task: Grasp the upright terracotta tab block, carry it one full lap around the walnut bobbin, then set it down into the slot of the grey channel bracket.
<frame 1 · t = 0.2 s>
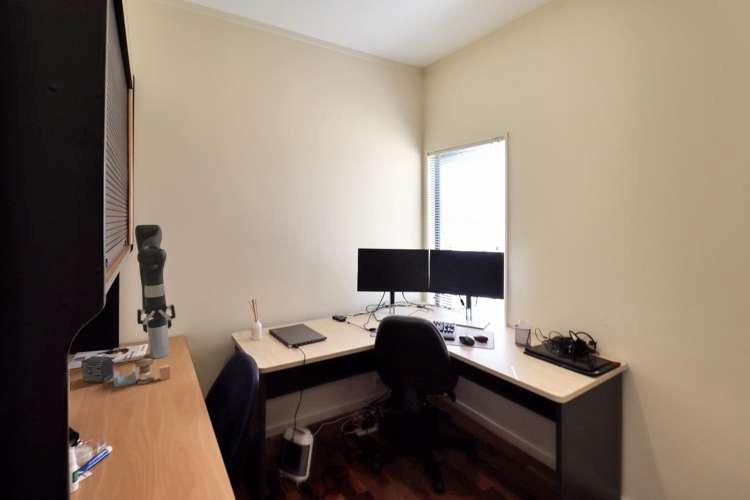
hand: (157, 330, 157), 28 cm above the table, fingers open, 8 cm apart
small box: (99, 379, 171), on the table
bobbin: (145, 380, 169), on the table
grey channel bracket: (125, 381, 169), on the table
lead tab: (165, 378, 172), on the table
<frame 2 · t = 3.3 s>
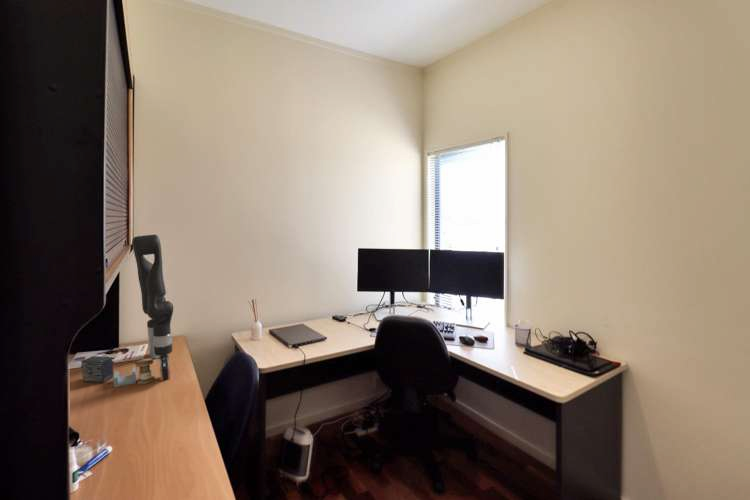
hand: (165, 377, 172), 0 cm above the table, fingers closed on lead tab, 3 cm apart
lead tab: (165, 378, 172), on the table, touching gripper
everything else where it was.
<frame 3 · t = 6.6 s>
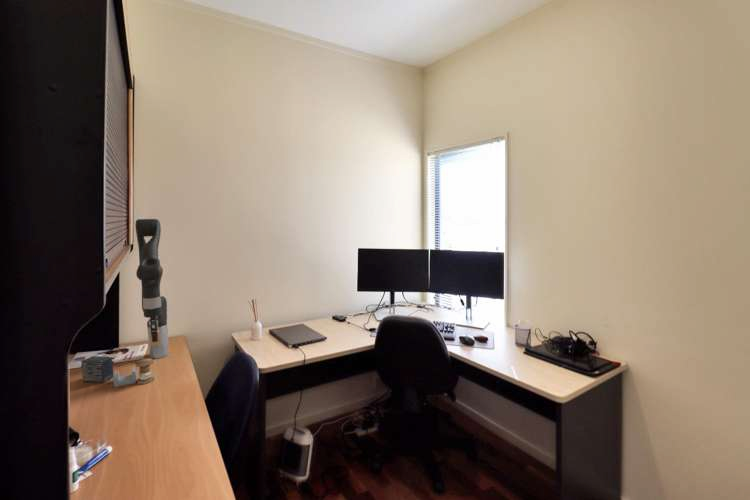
hand: (154, 340, 174), 17 cm above the table, fingers closed on lead tab, 2 cm apart
lead tab: (155, 343, 175), point 15 cm above the table, touching gripper
everything else where it was.
when the fingers open (3 cm above the table, at t = 10.2 s): lead tab stays where it is, resting on grey channel bracket.
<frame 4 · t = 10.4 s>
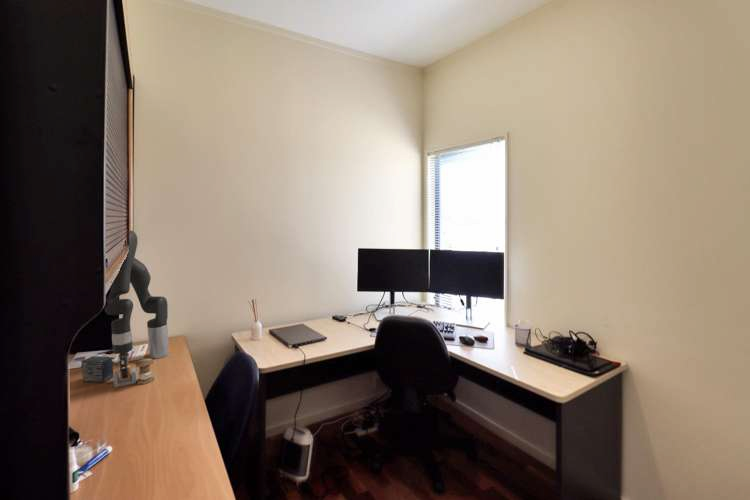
hand: (125, 375, 168), 3 cm above the table, fingers open, 4 cm apart
lead tab: (125, 379, 168), point 1 cm above the table, touching grey channel bracket
everything else where it was.
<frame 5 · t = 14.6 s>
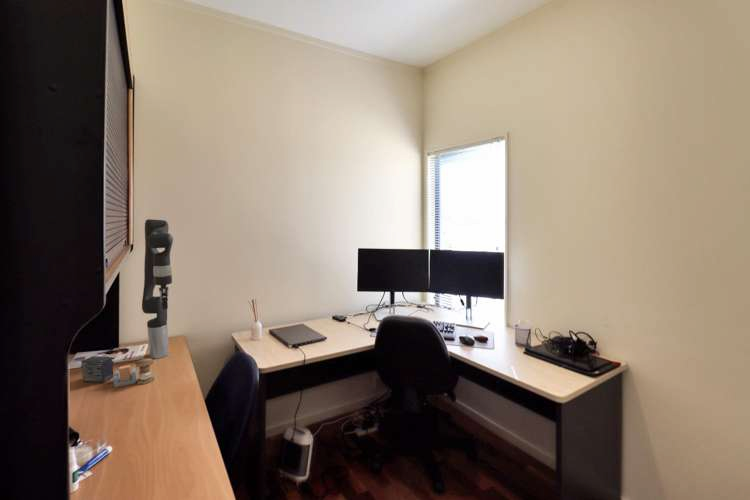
hand: (164, 306, 176), 33 cm above the table, fingers open, 8 cm apart
nothing on the table moved.
at the end: lead tab 0.0 cm off-centre on the grey channel bracket, point 1.2 cm above the grey channel bracket's base; lead tab tilted 0°; the gripper is holding nothing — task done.
